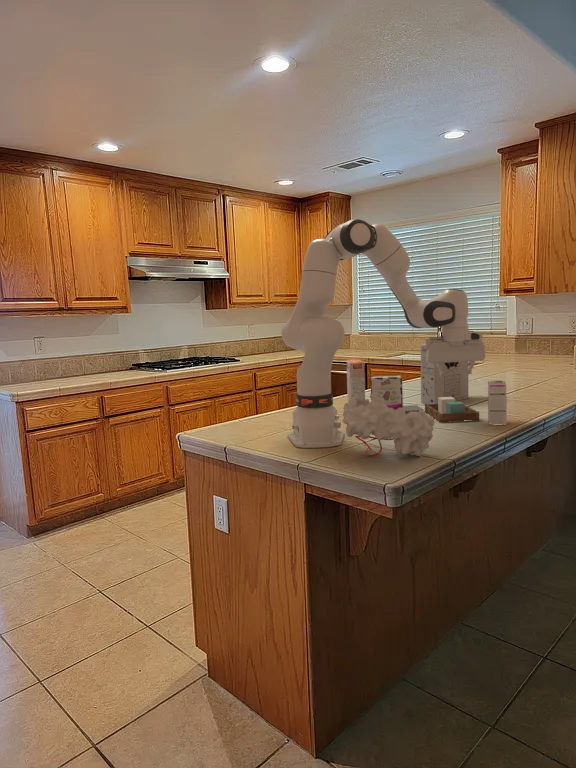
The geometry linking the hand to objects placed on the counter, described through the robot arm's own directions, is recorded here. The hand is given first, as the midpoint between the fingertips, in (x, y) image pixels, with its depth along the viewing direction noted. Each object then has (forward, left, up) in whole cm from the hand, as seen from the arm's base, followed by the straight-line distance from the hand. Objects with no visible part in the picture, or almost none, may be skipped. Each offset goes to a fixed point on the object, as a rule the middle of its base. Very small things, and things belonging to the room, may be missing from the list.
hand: (455, 374), depth 185 cm
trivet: (+14, +14, -16) cm, 26 cm away
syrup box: (-10, -11, -16) cm, 22 cm away
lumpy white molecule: (-41, +33, -16) cm, 55 cm away
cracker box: (+18, +33, -16) cm, 41 cm away
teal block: (0, 0, -16) cm, 16 cm away
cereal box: (+35, -7, -16) cm, 39 cm away
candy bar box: (+2, +24, -16) cm, 29 cm away
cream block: (+10, 0, -16) cm, 19 cm away
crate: (+5, 0, -16) cm, 17 cm away
